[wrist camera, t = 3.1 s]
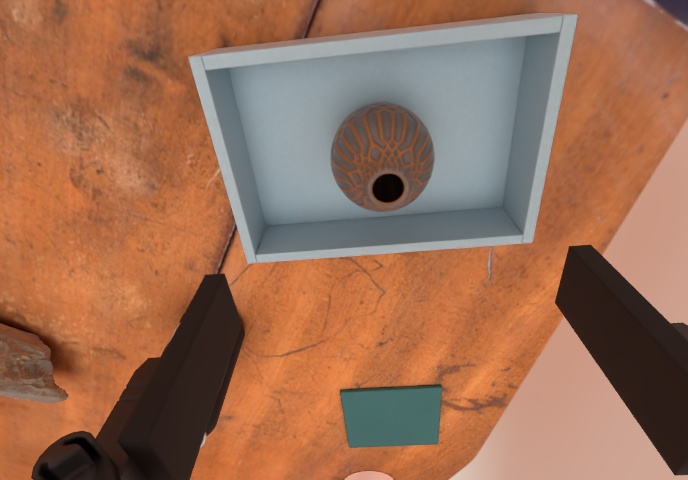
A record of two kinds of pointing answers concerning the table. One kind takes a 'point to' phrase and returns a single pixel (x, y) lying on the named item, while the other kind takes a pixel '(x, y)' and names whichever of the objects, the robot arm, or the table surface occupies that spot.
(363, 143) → the vase
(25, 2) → the table surface
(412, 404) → the mat
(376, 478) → the bottle
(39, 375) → the grey rock
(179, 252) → the table surface
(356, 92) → the tray
